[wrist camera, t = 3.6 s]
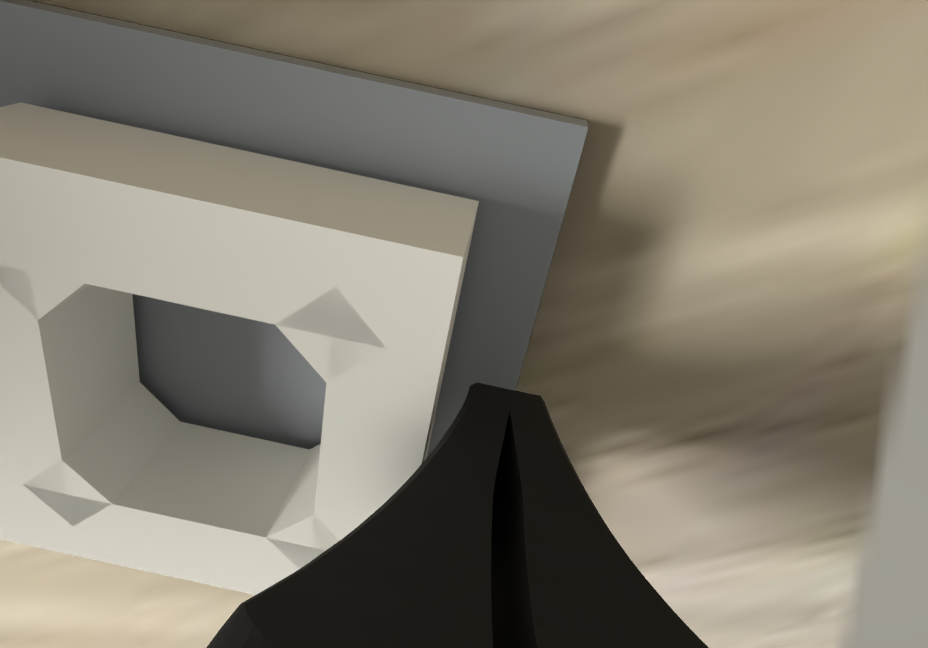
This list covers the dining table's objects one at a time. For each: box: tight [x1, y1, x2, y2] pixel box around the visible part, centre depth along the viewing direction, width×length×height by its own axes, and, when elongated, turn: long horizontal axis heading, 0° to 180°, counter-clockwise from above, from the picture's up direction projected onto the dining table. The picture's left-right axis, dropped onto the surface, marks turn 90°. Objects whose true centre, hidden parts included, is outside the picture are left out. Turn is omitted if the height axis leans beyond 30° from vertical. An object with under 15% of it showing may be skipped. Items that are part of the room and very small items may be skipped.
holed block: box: [0, 103, 479, 595], centre depth 12 cm, size 8×8×2 cm
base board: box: [0, 0, 589, 458], centre depth 12 cm, size 11×17×4 cm, turn 79°
